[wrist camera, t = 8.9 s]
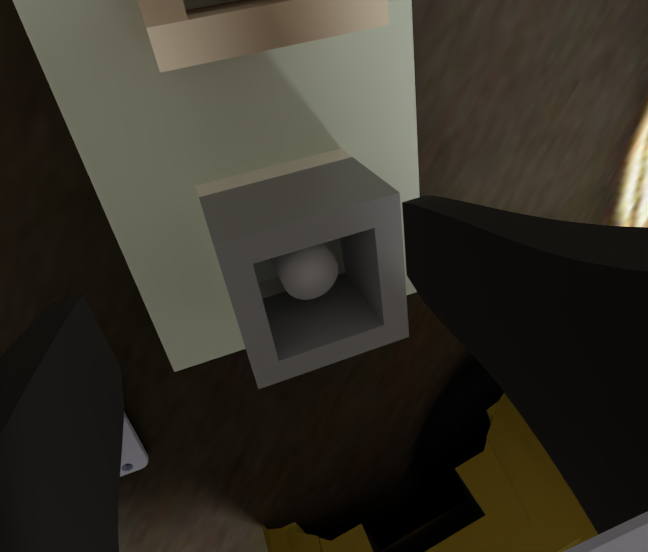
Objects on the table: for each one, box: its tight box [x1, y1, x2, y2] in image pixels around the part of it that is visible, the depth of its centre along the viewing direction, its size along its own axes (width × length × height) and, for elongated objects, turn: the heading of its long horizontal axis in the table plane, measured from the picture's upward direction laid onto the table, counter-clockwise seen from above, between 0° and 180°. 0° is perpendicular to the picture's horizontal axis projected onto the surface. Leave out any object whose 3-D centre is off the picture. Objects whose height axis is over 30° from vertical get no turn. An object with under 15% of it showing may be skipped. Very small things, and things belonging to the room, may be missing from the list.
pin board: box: [12, 0, 420, 372], centre depth 16 cm, size 12×20×5 cm, turn 8°
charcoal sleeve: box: [196, 148, 409, 389], centre depth 17 cm, size 6×6×5 cm
